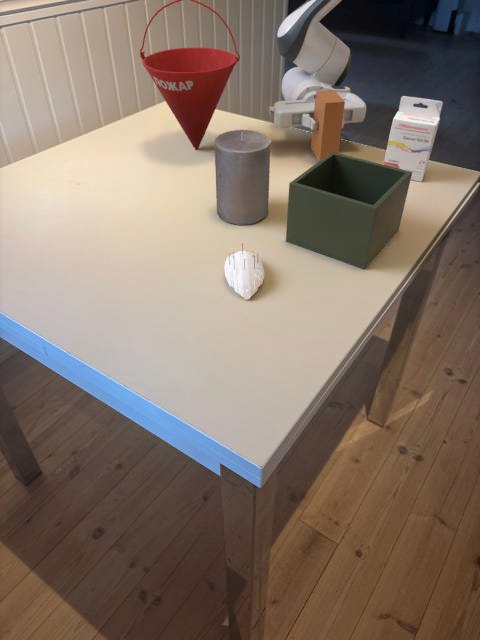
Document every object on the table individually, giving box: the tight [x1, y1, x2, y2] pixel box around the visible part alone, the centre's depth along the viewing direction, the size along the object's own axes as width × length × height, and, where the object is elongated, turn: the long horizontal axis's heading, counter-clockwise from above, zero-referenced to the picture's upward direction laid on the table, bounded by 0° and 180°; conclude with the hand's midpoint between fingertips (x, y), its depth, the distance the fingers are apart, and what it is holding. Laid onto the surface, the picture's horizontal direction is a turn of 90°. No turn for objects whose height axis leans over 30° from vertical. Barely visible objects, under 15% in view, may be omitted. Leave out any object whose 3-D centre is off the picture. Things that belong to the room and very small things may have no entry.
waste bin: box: [285, 152, 412, 270], centre depth 82 cm, size 15×15×11 cm
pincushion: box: [223, 243, 265, 300], centre depth 75 cm, size 12×6×6 cm, turn 4°
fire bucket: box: [139, 0, 241, 150], centre depth 104 cm, size 22×20×30 cm
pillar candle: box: [214, 129, 272, 226], centre depth 87 cm, size 10×10×15 cm
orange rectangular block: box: [310, 91, 345, 162], centre depth 103 cm, size 4×7×12 cm, turn 9°
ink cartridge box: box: [383, 95, 444, 183], centre depth 98 cm, size 9×5×15 cm, turn 65°
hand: (328, 125), depth 102 cm, fingers closed on orange rectangular block, 4 cm apart
